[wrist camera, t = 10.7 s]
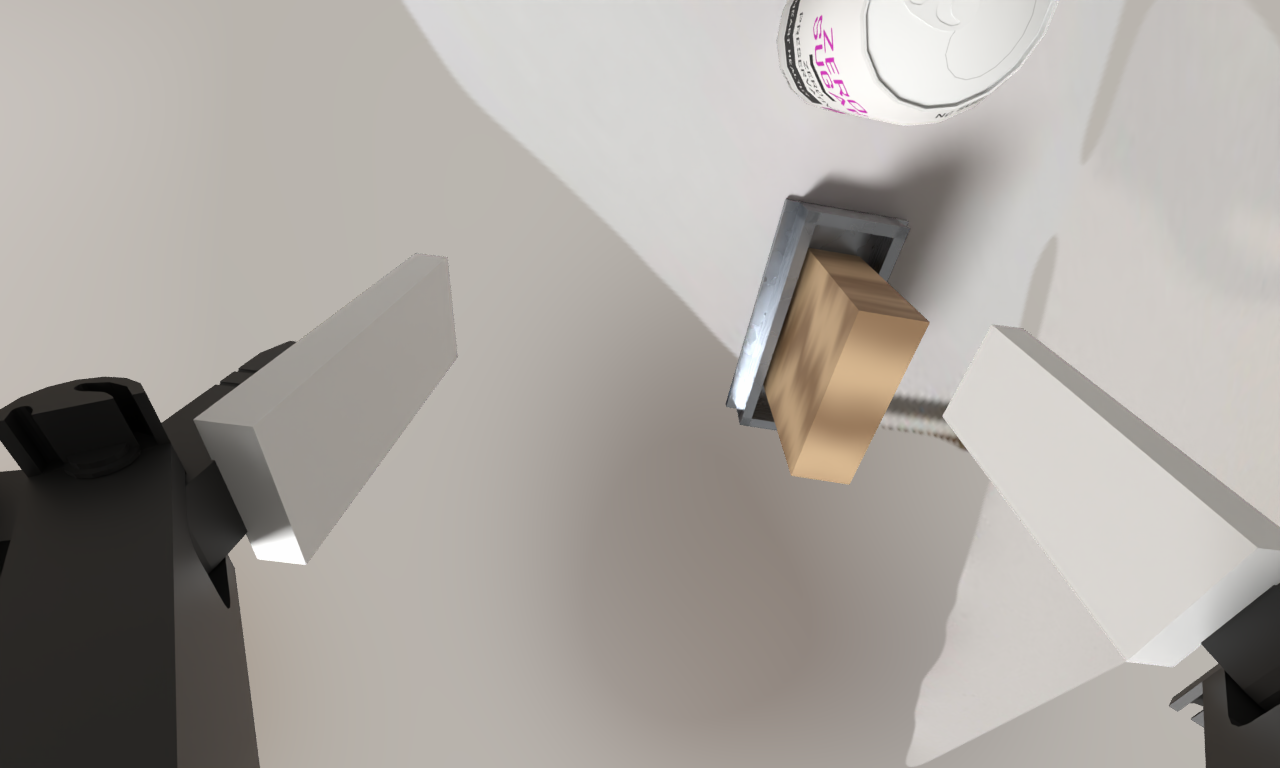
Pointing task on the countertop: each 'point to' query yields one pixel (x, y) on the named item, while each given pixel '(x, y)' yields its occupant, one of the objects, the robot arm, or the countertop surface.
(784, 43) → the supplement can
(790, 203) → the track
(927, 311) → the countertop surface
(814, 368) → the panel
